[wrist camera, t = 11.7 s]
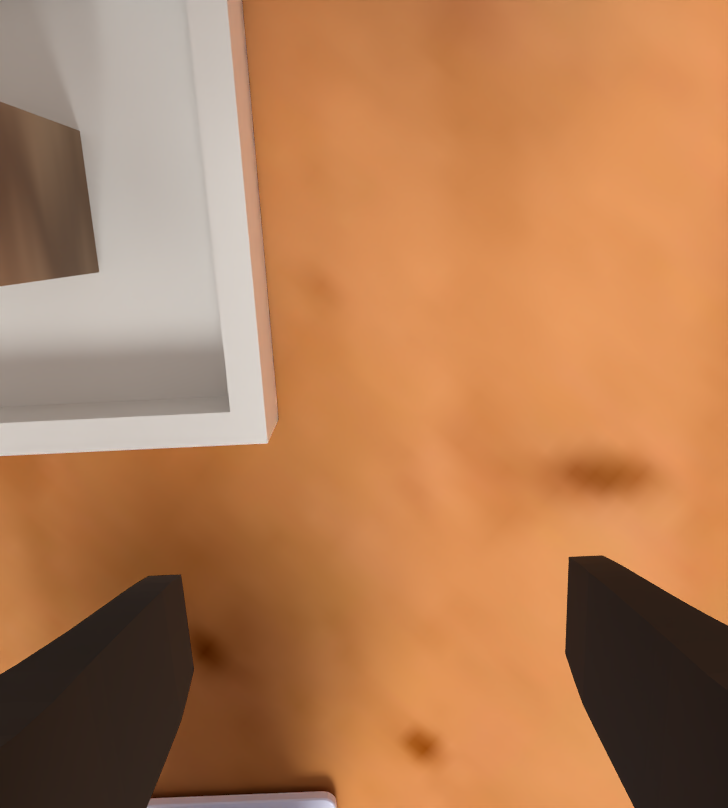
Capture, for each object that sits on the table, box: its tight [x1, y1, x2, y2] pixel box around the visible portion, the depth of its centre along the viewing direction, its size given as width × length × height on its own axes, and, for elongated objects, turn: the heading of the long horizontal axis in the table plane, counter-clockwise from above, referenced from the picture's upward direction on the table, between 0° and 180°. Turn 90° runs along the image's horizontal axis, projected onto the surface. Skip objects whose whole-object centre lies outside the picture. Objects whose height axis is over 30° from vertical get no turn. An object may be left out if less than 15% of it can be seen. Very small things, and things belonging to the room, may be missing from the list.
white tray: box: [0, 0, 279, 456], centre depth 18 cm, size 14×14×2 cm
